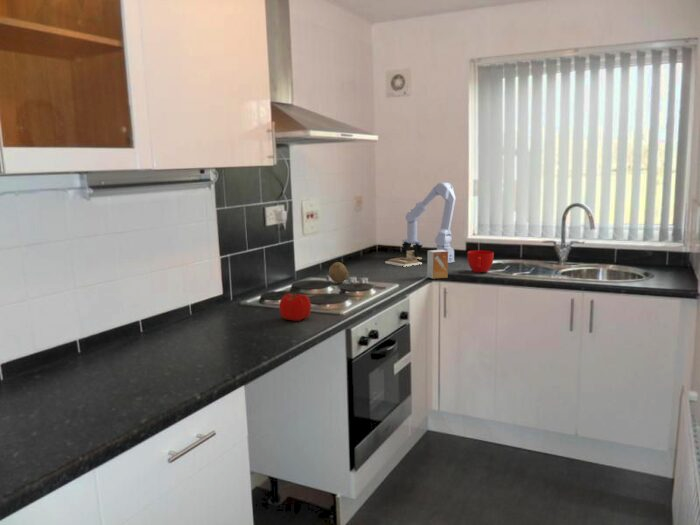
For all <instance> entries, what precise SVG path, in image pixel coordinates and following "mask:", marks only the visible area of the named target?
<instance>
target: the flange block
mask: <svg viewBox="0 0 700 525" xmlns="http://www.w3.org/2000/svg"><path fill="white" fill-rule="evenodd" d="M406 258H408V259H414V260H417V259H419V260H422V259H423V257H422V256H418V257H415V254H414V249H412V250H411V249H410V251H407V256H406Z"/></svg>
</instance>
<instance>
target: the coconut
mask: <svg viewBox="0 0 700 525" xmlns="http://www.w3.org/2000/svg"><path fill="white" fill-rule="evenodd" d="M328 276H329V278H331V280H332V281H333V282H334V283H336V282H337V283H336V284H338V283H339V284H341V283H340V282H342V283H343V282H344V281H346V280H347V279H349V277H350V276H349V271H348V270H347V267H346V265H344V264H343V263H342V262H340V261H337V262H334V263H332V264H331V265H330V266H329V269H328Z"/></svg>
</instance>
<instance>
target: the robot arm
mask: <svg viewBox="0 0 700 525" xmlns="http://www.w3.org/2000/svg"><path fill="white" fill-rule="evenodd" d="M437 196H441V197H442V198H443V200H444V208H443V213H442V217H441V218H442V219H441V224H440V229H439V230H438V232H437V236H436V237H435V238H434V242H435V244H436V250H445V251H448V264H450V263H455V262H456V261H455V249H454V248H453V247H451V242H452V240H453V237H452V231H451V226H452V220H453V216H454V209H455V205H456V200H457V198H456V194H455V192H454V186H453V185H452V184H451V183H450V182H449V181H448V182H445V181H444V182H438V183H436V185H435V186H433V188H432V189H431V190H430V192H429V193H428V194H427V196H425V198H424V199H423V201H418V202H416V203H415V206H414V207H413V208H412V209H410V211H409V212H406V215H405V220H406V223H407V224H406V225H407V226H406V228H407V229H406V236H407V238H406V239H405V238H403V239H402V244H401V245H402V247H403V249H404V253H405V255H406V257H407V251H410V250H411V246H412V247H413V250H414V254H415V257H420V256H419V255H420V252H421V248H423V241H422V240H418V222H419V220H420V217H421V216H422V215H423V213H424V212H425V211H427V206H428V205H429V204H430V203H431V202H432V201H433V200H434V199H435V198H436V197H437Z"/></svg>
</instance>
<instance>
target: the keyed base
mask: <svg viewBox="0 0 700 525" xmlns="http://www.w3.org/2000/svg"><path fill="white" fill-rule="evenodd" d="M384 264H386V265H393V266H397V267H402V266H403V267H404V268H406V266H407V267H411V266H412V265H414V266H419V264H420V265H423V262H421V261H419V260H414V259H408V258H407V257H395V258H390V259H388V260H386V261H385V262H384ZM412 267H413V266H412Z"/></svg>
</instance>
